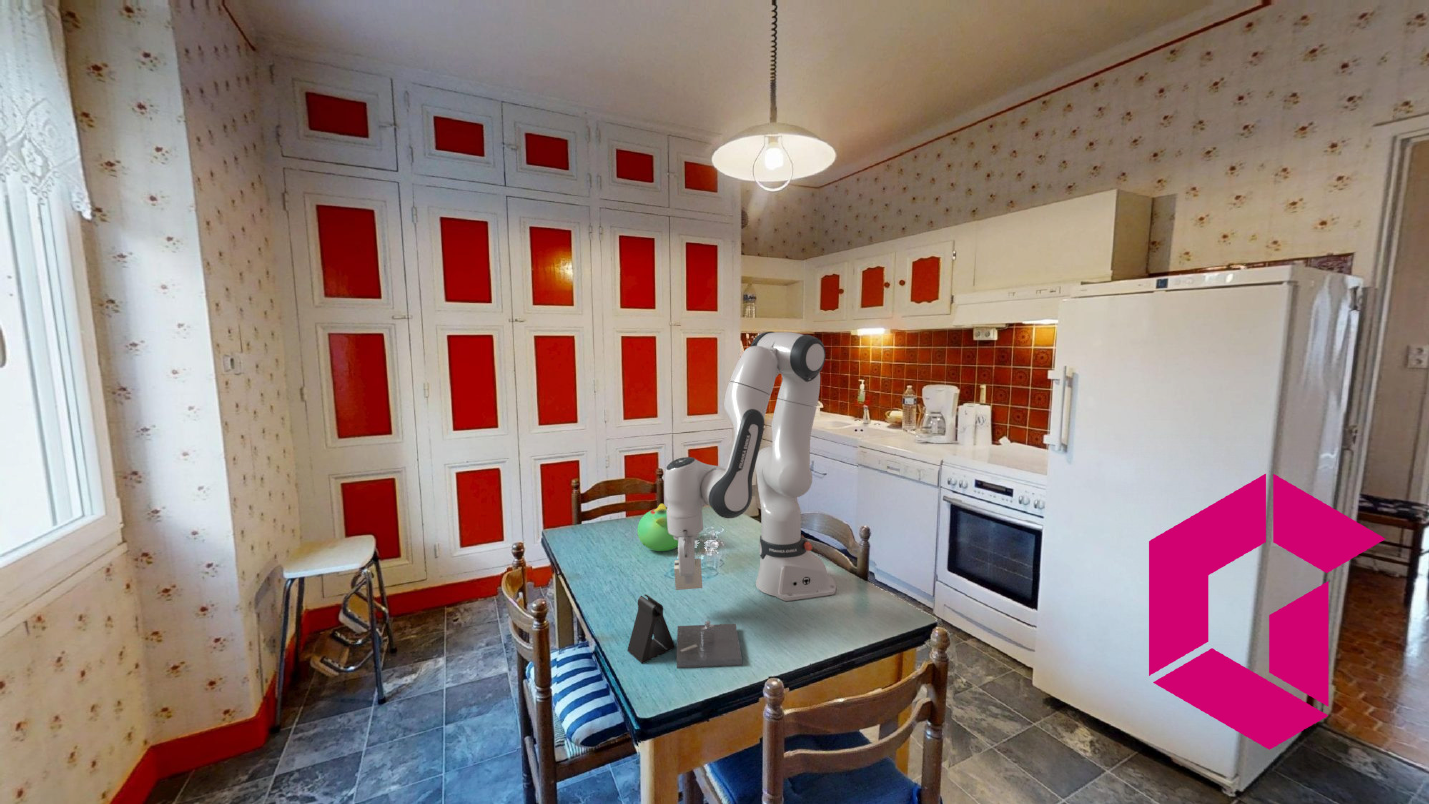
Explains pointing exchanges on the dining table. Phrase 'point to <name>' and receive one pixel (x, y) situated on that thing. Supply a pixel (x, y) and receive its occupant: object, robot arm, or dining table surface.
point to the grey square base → (708, 646)
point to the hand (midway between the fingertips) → (689, 576)
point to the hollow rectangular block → (696, 577)
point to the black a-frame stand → (649, 631)
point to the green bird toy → (656, 530)
